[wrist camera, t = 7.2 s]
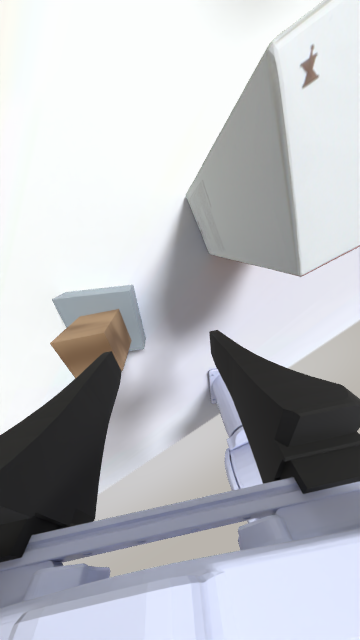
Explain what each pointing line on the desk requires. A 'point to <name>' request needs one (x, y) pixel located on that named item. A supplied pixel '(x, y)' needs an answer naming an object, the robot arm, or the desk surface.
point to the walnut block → (93, 340)
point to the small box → (290, 152)
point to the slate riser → (104, 308)
